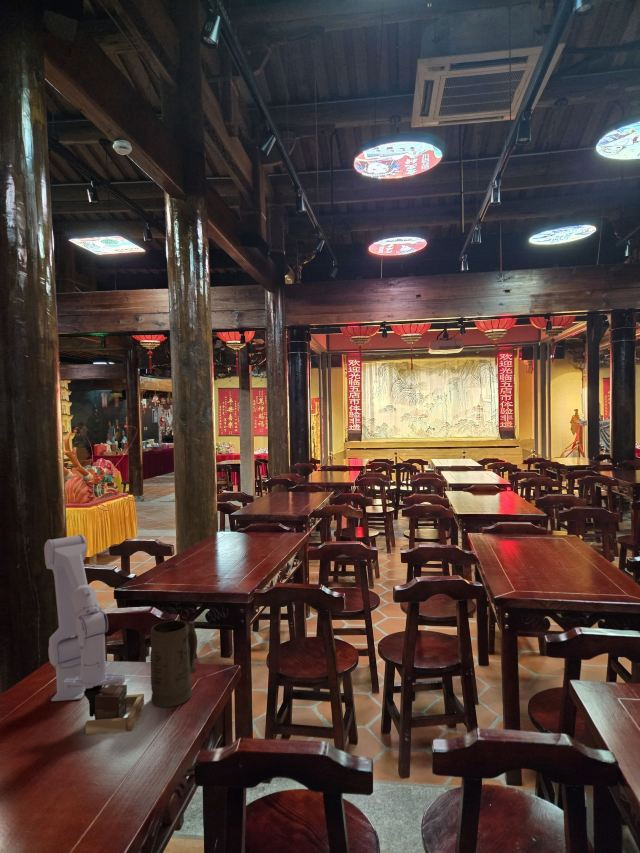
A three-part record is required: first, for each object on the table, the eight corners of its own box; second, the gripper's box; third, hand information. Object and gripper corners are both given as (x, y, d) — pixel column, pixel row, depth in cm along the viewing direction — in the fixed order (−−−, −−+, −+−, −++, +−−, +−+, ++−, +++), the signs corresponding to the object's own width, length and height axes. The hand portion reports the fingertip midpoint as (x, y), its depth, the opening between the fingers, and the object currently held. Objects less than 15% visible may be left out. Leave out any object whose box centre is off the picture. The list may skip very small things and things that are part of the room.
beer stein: (174, 712, 136) (175, 633, 137) (141, 705, 140) (141, 628, 141) (207, 687, 151) (207, 616, 152) (175, 682, 154) (176, 612, 155)
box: (118, 726, 131) (118, 696, 131) (93, 725, 131) (94, 696, 131) (126, 712, 137) (127, 684, 137) (103, 712, 137) (104, 683, 137)
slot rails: (103, 707, 140) (102, 696, 140) (144, 704, 141) (143, 693, 141) (85, 734, 127) (85, 723, 127) (130, 731, 128) (130, 719, 128)
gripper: (57, 669, 129) (59, 725, 129) (117, 665, 130) (119, 720, 130) (69, 657, 136) (71, 709, 136) (126, 653, 137) (128, 705, 137)
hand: (95, 714), depth 133 cm, fingers closed, pressing on box
